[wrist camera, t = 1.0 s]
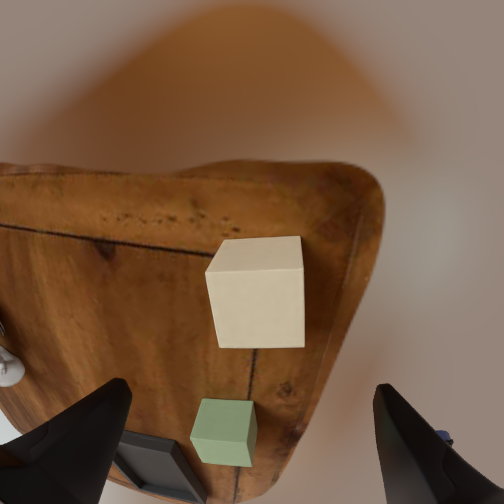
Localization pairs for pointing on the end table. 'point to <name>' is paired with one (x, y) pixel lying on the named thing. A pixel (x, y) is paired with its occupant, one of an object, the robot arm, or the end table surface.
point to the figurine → (10, 367)
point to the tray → (157, 467)
